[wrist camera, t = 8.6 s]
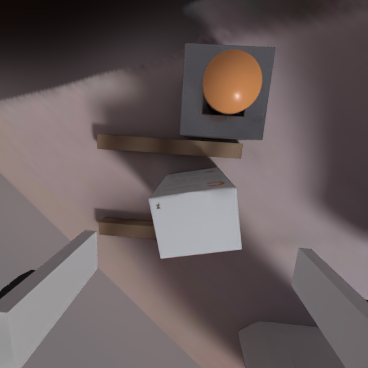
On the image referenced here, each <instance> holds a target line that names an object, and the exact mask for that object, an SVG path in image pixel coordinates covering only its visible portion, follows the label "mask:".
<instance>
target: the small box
mask: <svg viewBox="0 0 368 368" xmlns="http://www.w3.org/2000/svg"><path fill="white" fill-rule="evenodd" d="M148 201H149V205H150V209H151V214H152V219H153V223H154V228H155V233H156V238H157V243H158V248H159V253H160V258H161V259H165V258H173V257H182V256H190V255H199V254H208V253H216V252H224V251H233V250H241V249H242V243H241V232H240V221H239V211H238V199H237V189H236V187H235V186H234V185H233V184H232V183H231V181H230V180H229V179H228V178H227V177H226V176H225V175H224V173H223V172H222V171H221V170H220V169H219V168H218V167H216V168H209V169H201V170H195V171H188V172H181V173H175V174H169V175H166V177H165V178H164V179H163V180H162V182H161V183H160V184H159V186H158V187H157V188H156V190H155V191H154V192H153V193H152V195H151V196H150V197H149V199H148Z"/></svg>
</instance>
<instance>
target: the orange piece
mask: <svg viewBox="0 0 368 368" xmlns="http://www.w3.org/2000/svg"><path fill="white" fill-rule="evenodd" d="M261 85H262V73H261V69H260V66H259V64H258V63H257V61H256V60H255V59H254V57H253V56H251V55H250V54H249V53H247V52H245V51H242V50H236V49H232V50H227V51H224V52H221V53H220V54H218V55H217V56H215V57H214V58H213V59H212V60H211V61H210V63H209V64H208V66H207V68H206V70H205V73H204V77H203V93H204V97H205V99H206V101H207V104H208V106H209V108H210V109H211V111H213V112H214V113H217V114H234V113H238V112H240V111H242V110H244V109H246V108H247V107H249V106H250V105H251V104H252V103H253V102H254V101H255V99H256V98H257V96H258V94H259V92H260V89H261Z"/></svg>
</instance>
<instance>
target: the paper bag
mask: <svg viewBox="0 0 368 368" xmlns="http://www.w3.org/2000/svg"><path fill="white" fill-rule="evenodd" d="M238 335H239V340H240V344H241V349H242V353H243V358H244V362H245V367H246V368H345V366H344V365H343V363H342V362H341V360H340V359H339V357H338V356H337V354H336V353H335V351H334V350H333V348H332V347H331V345H330V344H329V342H328V341H327V339H326V338H325V336H324V335H323V333H322V332H321V330H320V329H319V327H313V326H304V325H294V324H285V323H275V322H266V321H258V322H255V323H253V324H251V325H249V326H247V327H245V328H243V329H241V330H240V331H239V332H238Z"/></svg>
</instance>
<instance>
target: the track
mask: <svg viewBox="0 0 368 368" xmlns="http://www.w3.org/2000/svg"><path fill="white" fill-rule="evenodd" d="M242 147H243V144H239V143H224V142H209V141H194V140H179V139H164V138H149V137H133V136H118V135H103V134H97V149H108V150H123V151H137V152H152V153H166V154H181V155H195V156H210V157H224V158H239V159H241V155H242ZM99 234H100V235H112V236H123V237H135V238H147V239H157V238H156V233H155V228H154V223H153V221H142V220H130V219H118V218H103V219H102V220H101V221H100V222H99Z"/></svg>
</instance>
